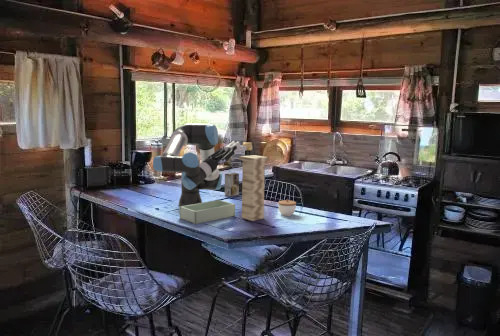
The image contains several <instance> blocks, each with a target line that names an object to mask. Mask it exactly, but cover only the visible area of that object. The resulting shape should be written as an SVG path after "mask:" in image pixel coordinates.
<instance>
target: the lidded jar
mask: <svg viewBox="0 0 500 336" xmlns="http://www.w3.org/2000/svg"><path fill="white" fill-rule="evenodd" d="M296 207H297V201H295V200H294V201H293V200H289V199H286V200H279V201H278V207H277V208H278V211H279V212H280V215H282V216H283V217H290V216H292V215H293V214H294V213H295V212H296Z"/></svg>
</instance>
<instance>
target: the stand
mask: <svg viewBox="0 0 500 336" xmlns="http://www.w3.org/2000/svg"><path fill="white" fill-rule="evenodd" d="M269 160H270V158H269V156H263V155H256V154H253V155H252V154H251V155H243V156H242V155H241V156H238V161H242V182H241V184H242V187H241V191H242V193H241V218H242V219H244V220H247V221H252V222H255V221H258V220H262V219H263V220H264V218H265V217H264V215H265V214H264V213H265V173H266V172H265V171H266V170H265V169H266V161H267V162H269Z"/></svg>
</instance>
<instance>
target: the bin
mask: <svg viewBox="0 0 500 336" xmlns="http://www.w3.org/2000/svg"><path fill="white" fill-rule="evenodd" d="M235 216H236V203H233V202H228V201H225V200H221V199H217V200H211V201H205V202H202V203H198V204H192V205H186V206H179V219H180V220H183V221H185V222H188V223H190V224H193V225H197V224H203V223H207V222H211V221H216V220H221V219H227V218H230V217H235Z"/></svg>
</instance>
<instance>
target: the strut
mask: <svg viewBox="0 0 500 336" xmlns="http://www.w3.org/2000/svg"><path fill="white" fill-rule="evenodd" d="M252 144H253V143H252V142H251V141H250V142H249V141H248V142H247V141H246V142H245V141H244V142H242V145H241V144H240V145H241V146H239V147H238V148H237V149H236V150H235V151H234V152H240V151H241V152H242V151H253V145H252ZM230 147H231V146H228V145H226V146H225V145H224V151H228V150H229V149H230Z"/></svg>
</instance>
